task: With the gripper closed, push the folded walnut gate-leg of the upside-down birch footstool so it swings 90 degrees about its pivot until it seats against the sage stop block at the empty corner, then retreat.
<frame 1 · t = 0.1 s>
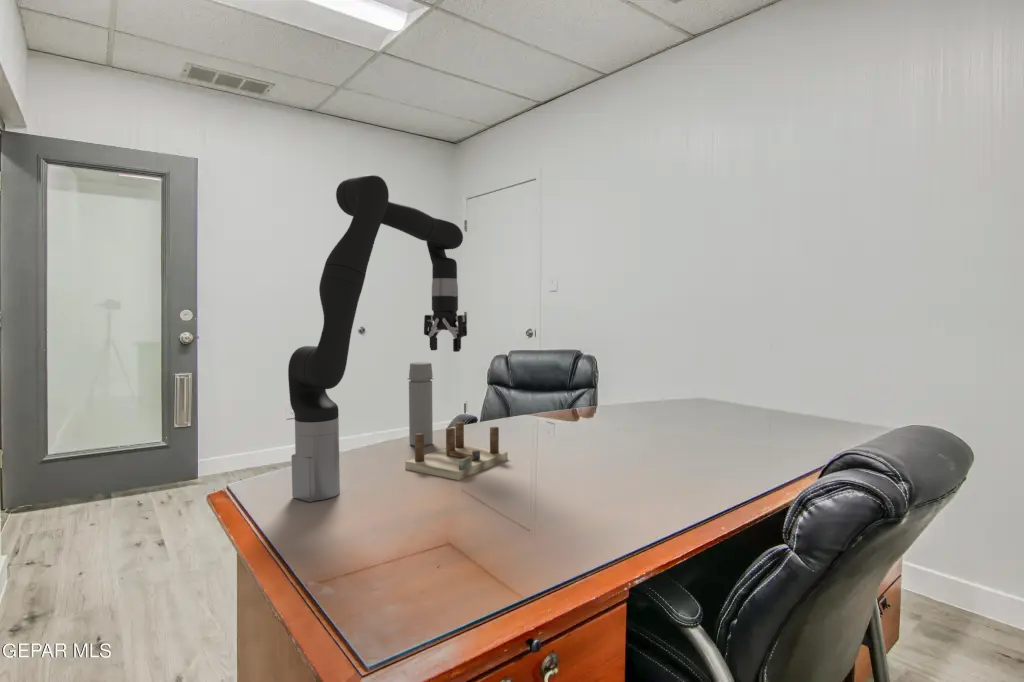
hand: (445, 350, 160), 29 cm above the table, fingers open, 8 cm apart
water bottle: (421, 444, 171), on the table
stool frame: (458, 464, 148), on the table
swing leg: (462, 443, 147), point 6 cm above the table, hinge at 0.0°
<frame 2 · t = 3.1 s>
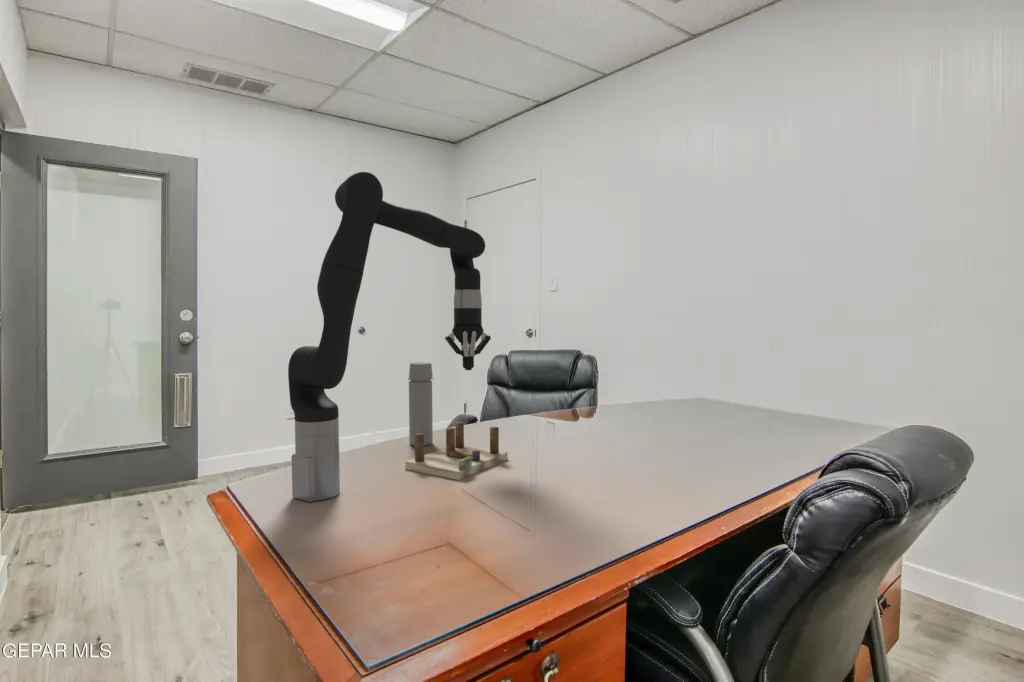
hand: (468, 369, 151), 25 cm above the table, fingers closed
nothing on the table moved.
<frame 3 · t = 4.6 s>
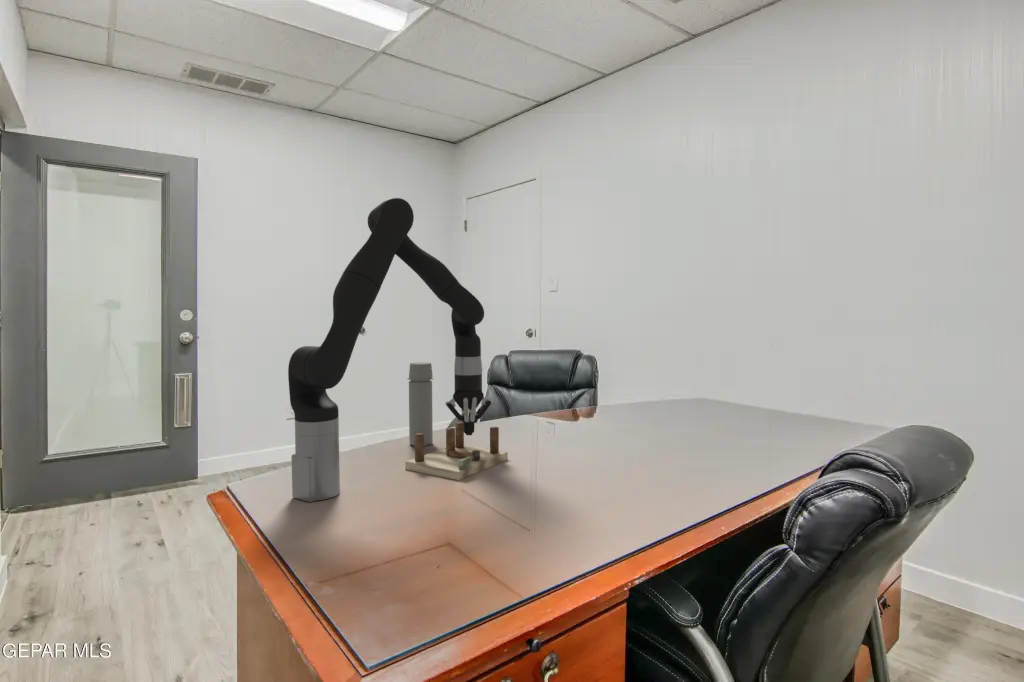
hand: (468, 434, 153), 7 cm above the table, fingers closed
nothing on the table moved.
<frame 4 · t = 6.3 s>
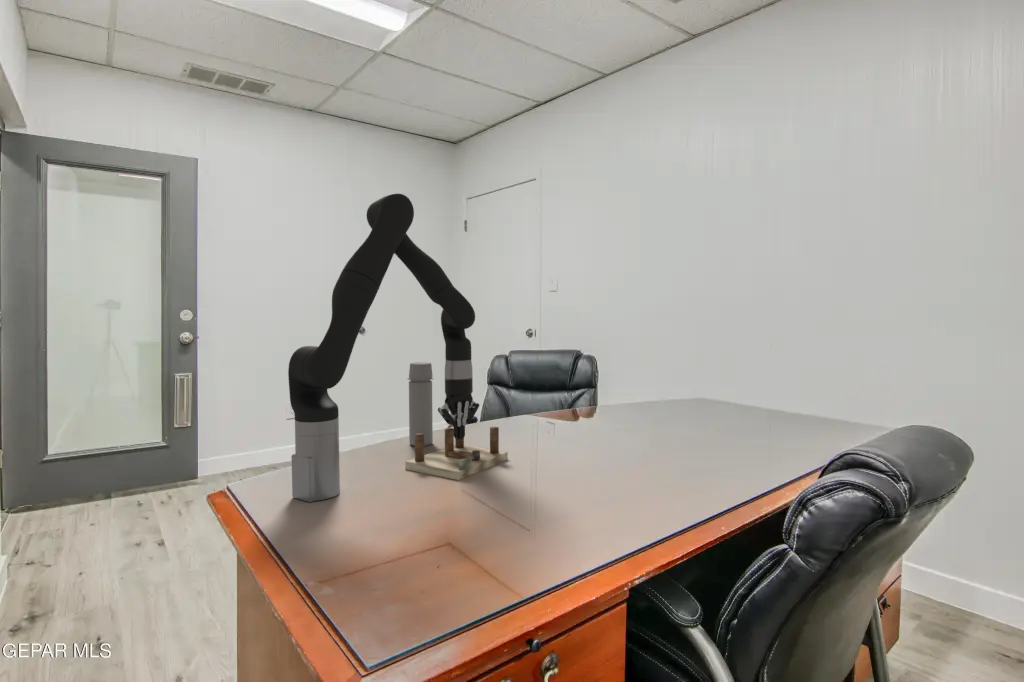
hand: (459, 439, 151), 6 cm above the table, fingers closed
swing leg: (462, 443, 147), point 6 cm above the table, hinge at 4.2°, touching gripper
everything else where it was.
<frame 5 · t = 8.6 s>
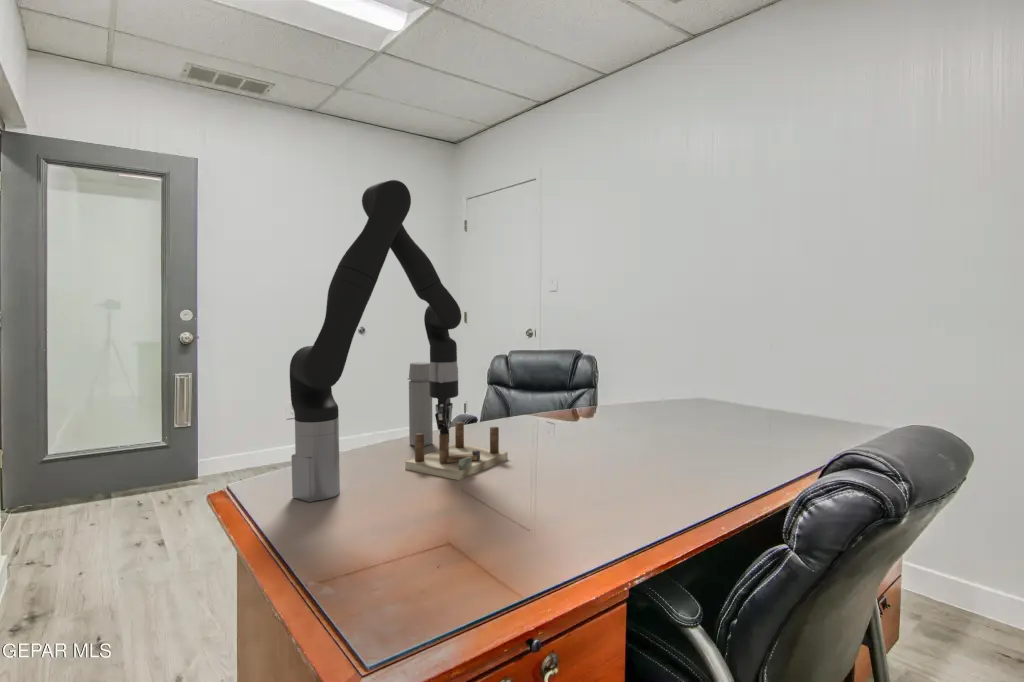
hand: (444, 443, 145), 6 cm above the table, fingers closed
swing leg: (459, 446, 143), point 6 cm above the table, hinge at 50.8°, touching gripper
everything else where it was.
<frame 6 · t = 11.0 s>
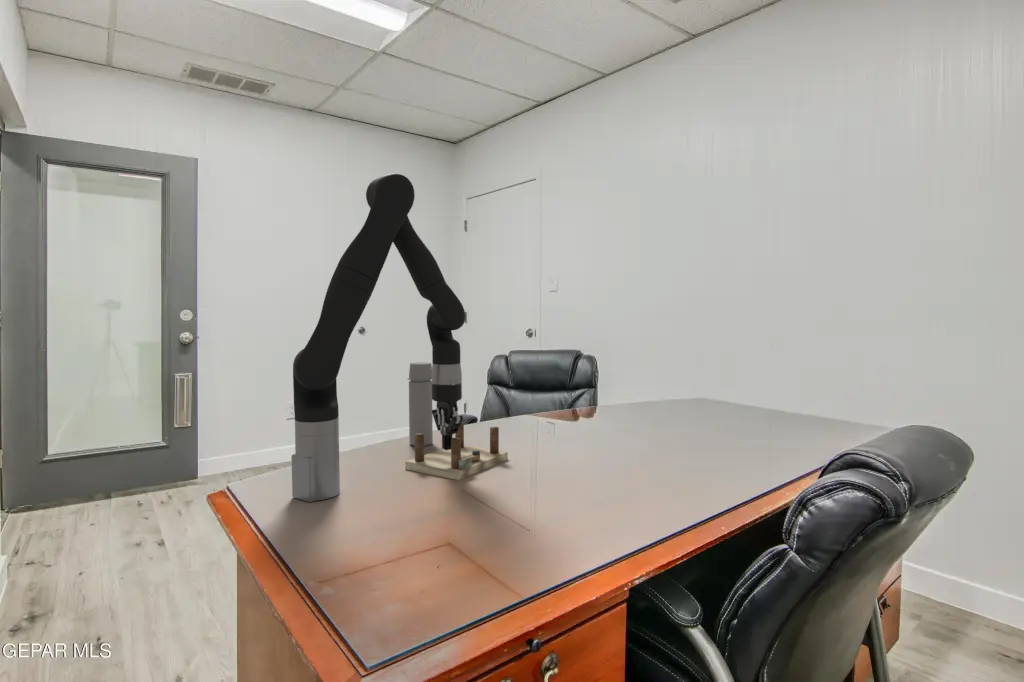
hand: (447, 449, 140), 6 cm above the table, fingers closed
swing leg: (466, 449, 141), point 6 cm above the table, hinge at 89.8°, touching gripper
everything else where it was.
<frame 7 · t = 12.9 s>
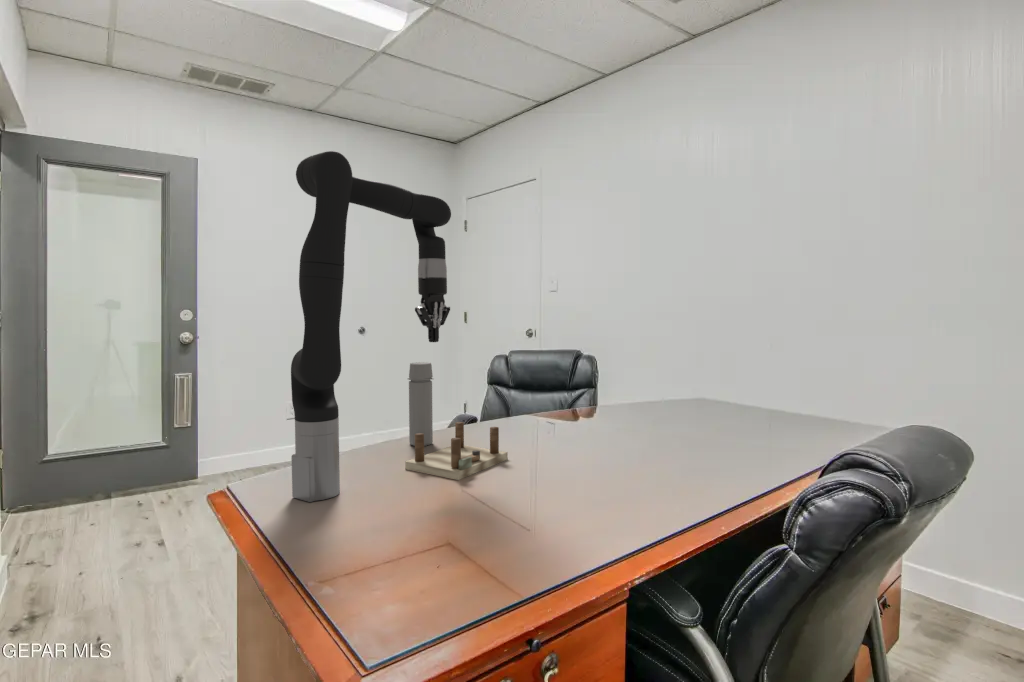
hand: (433, 341, 147), 33 cm above the table, fingers closed
swing leg: (466, 449, 141), point 6 cm above the table, hinge at 89.8°
everything else where it was.
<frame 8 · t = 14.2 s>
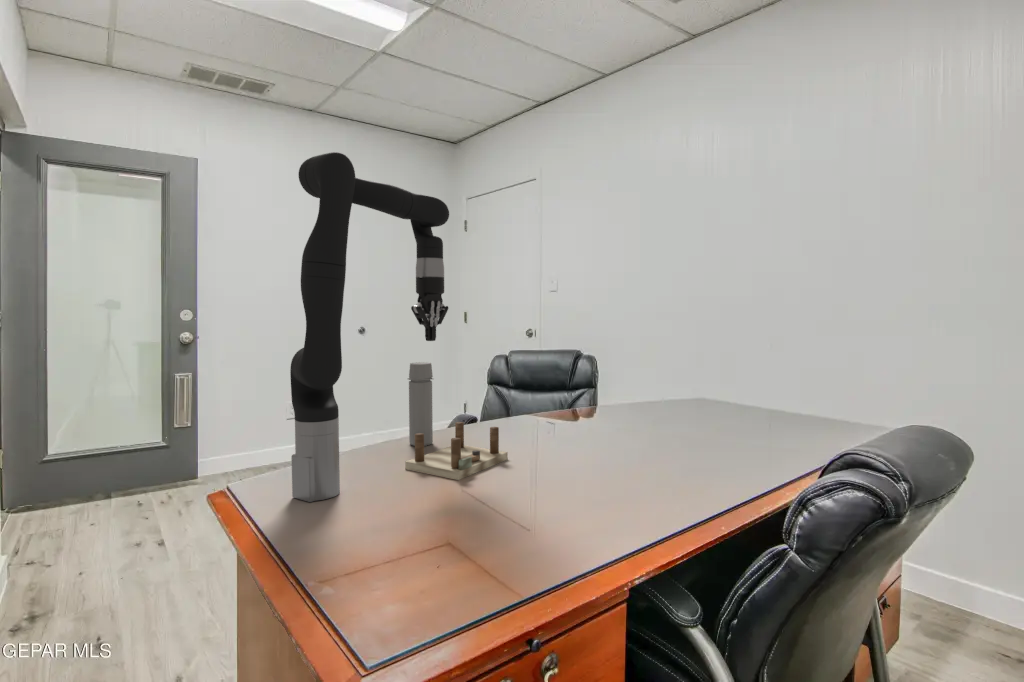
hand: (430, 340, 148), 33 cm above the table, fingers closed
nothing on the table moved.
at the end: swing leg at +90° (first picture: +0°) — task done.
